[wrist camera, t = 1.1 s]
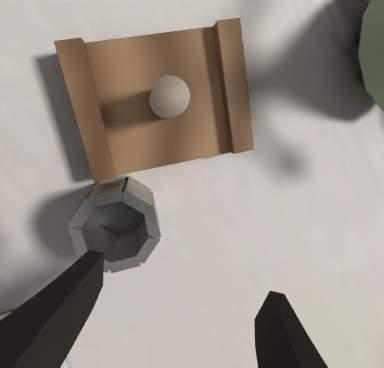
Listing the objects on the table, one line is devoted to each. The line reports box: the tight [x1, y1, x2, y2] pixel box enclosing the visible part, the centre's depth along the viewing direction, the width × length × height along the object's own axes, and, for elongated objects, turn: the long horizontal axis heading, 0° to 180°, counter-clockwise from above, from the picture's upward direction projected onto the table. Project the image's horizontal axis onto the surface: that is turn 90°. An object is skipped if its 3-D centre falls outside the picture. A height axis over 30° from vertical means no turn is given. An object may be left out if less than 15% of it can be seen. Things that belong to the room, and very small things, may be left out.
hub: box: [68, 176, 161, 273], centre depth 18 cm, size 6×6×4 cm
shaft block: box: [54, 18, 254, 182], centre depth 17 cm, size 12×9×6 cm
